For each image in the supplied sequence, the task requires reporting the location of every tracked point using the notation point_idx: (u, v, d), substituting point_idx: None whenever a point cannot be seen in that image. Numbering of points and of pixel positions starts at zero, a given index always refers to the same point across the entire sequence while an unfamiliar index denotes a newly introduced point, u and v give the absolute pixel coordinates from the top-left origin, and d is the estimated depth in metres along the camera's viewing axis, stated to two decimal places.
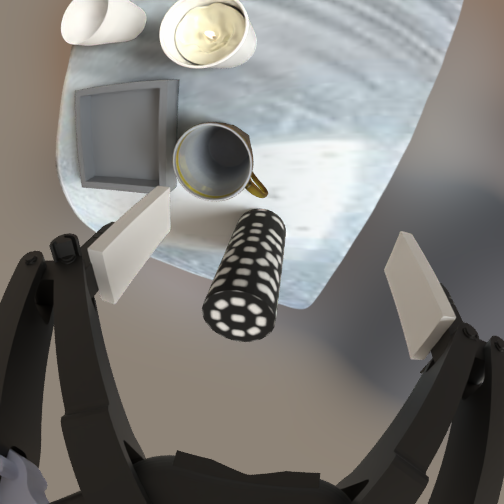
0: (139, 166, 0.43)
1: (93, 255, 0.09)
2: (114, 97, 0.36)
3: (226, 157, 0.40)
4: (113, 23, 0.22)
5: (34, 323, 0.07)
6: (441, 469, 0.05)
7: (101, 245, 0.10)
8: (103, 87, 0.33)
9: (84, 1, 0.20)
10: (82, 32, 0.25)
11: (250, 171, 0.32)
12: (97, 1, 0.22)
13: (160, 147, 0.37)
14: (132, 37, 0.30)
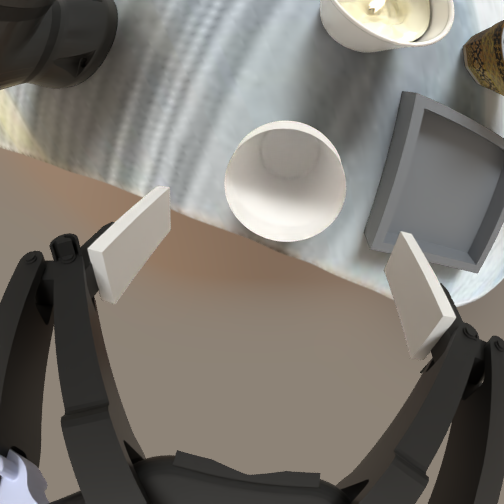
0: (485, 183, 0.25)
1: (93, 255, 0.09)
2: None
3: None
4: (322, 135, 0.19)
5: (34, 323, 0.07)
6: (441, 469, 0.05)
7: (101, 245, 0.10)
8: (391, 198, 0.26)
9: (237, 199, 0.23)
10: (293, 213, 0.25)
11: None
12: (241, 182, 0.25)
13: (488, 137, 0.19)
14: (320, 143, 0.27)
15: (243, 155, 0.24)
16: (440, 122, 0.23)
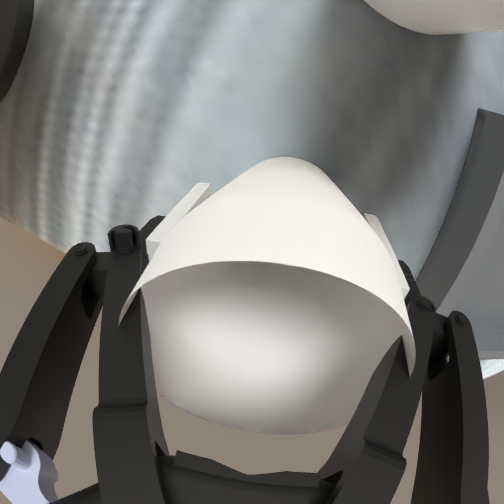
0: None
1: (151, 246, 0.10)
2: None
3: None
4: (371, 244, 0.07)
5: (76, 317, 0.08)
6: (419, 454, 0.06)
7: (159, 236, 0.10)
8: (449, 295, 0.14)
9: (175, 344, 0.11)
10: (287, 345, 0.14)
11: None
12: (188, 294, 0.13)
13: None
14: None
15: None
16: None
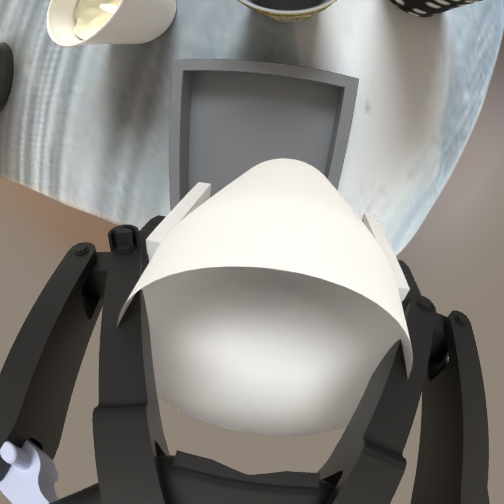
0: (311, 129, 0.27)
1: (151, 246, 0.10)
2: (197, 157, 0.31)
3: (303, 1, 0.19)
4: (369, 248, 0.07)
5: (76, 317, 0.08)
6: (419, 454, 0.06)
7: (159, 236, 0.10)
8: (171, 164, 0.28)
9: (173, 345, 0.11)
10: (286, 347, 0.14)
11: None
12: (186, 296, 0.13)
13: (276, 71, 0.22)
14: None
15: None
16: (227, 77, 0.25)
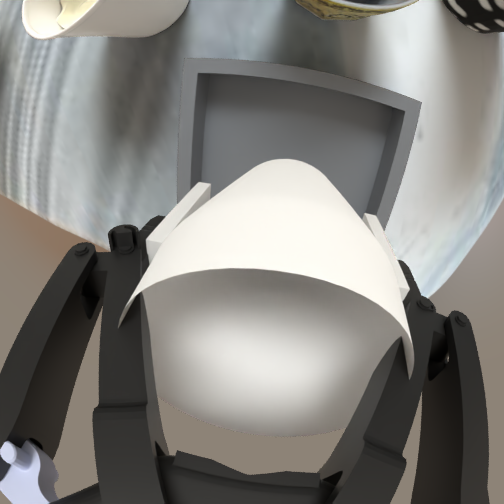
0: (356, 157, 0.22)
1: (151, 246, 0.10)
2: (212, 183, 0.25)
3: None
4: (371, 249, 0.07)
5: (76, 317, 0.08)
6: (419, 454, 0.06)
7: (159, 236, 0.10)
8: (179, 193, 0.23)
9: (174, 346, 0.11)
10: (287, 348, 0.13)
11: None
12: (187, 297, 0.13)
13: (322, 83, 0.16)
14: None
15: None
16: (254, 84, 0.20)
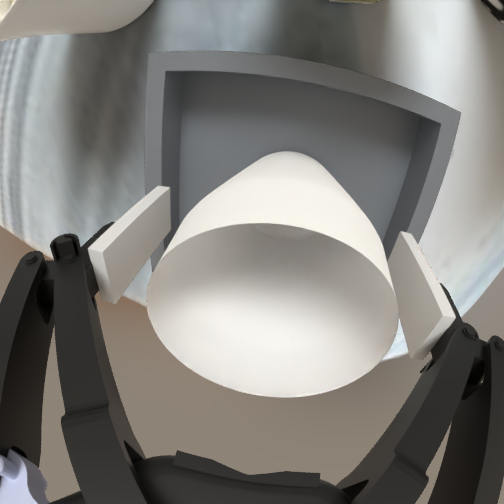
0: (373, 179, 0.17)
1: (93, 255, 0.09)
2: None
3: None
4: (358, 218, 0.08)
5: (34, 323, 0.07)
6: (441, 469, 0.05)
7: (101, 245, 0.10)
8: None
9: (190, 314, 0.13)
10: (290, 319, 0.15)
11: None
12: (201, 272, 0.14)
13: (334, 82, 0.12)
14: None
15: None
16: (242, 83, 0.15)
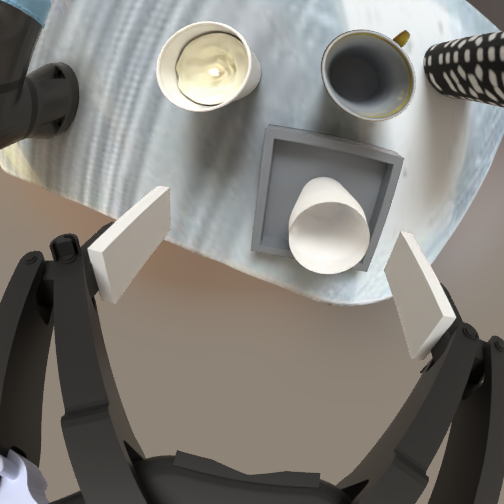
0: (363, 190, 0.36)
1: (93, 255, 0.09)
2: (274, 204, 0.40)
3: (366, 83, 0.29)
4: (355, 202, 0.28)
5: (34, 323, 0.07)
6: (441, 469, 0.05)
7: (101, 245, 0.10)
8: (257, 211, 0.38)
9: (292, 243, 0.32)
10: (329, 250, 0.35)
11: (379, 34, 0.18)
12: (293, 228, 0.34)
13: (346, 149, 0.31)
14: None
15: None
16: (304, 144, 0.35)
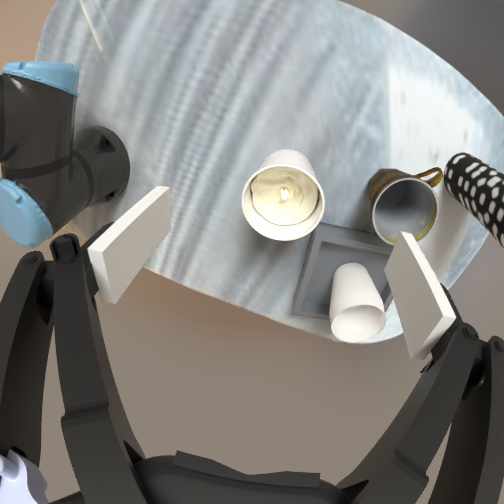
0: (381, 270, 0.47)
1: (93, 255, 0.09)
2: (312, 280, 0.51)
3: (396, 192, 0.40)
4: (378, 299, 0.39)
5: (34, 323, 0.07)
6: (441, 469, 0.05)
7: (101, 245, 0.10)
8: (301, 289, 0.49)
9: (331, 321, 0.43)
10: (354, 320, 0.46)
11: (421, 181, 0.29)
12: None
13: (374, 250, 0.42)
14: None
15: (332, 293, 0.45)
16: None
